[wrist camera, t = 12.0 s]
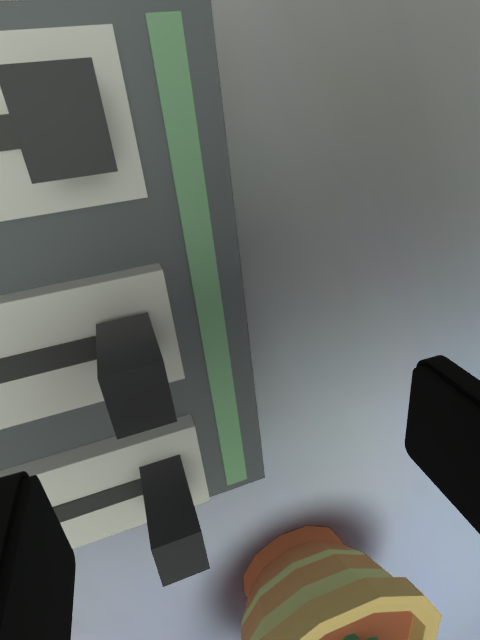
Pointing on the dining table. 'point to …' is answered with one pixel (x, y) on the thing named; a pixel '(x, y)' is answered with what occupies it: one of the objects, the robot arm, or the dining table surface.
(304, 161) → the dining table surface
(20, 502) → the robot arm
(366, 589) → the potted cactus
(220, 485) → the breaker panel
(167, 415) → the breaker handle
